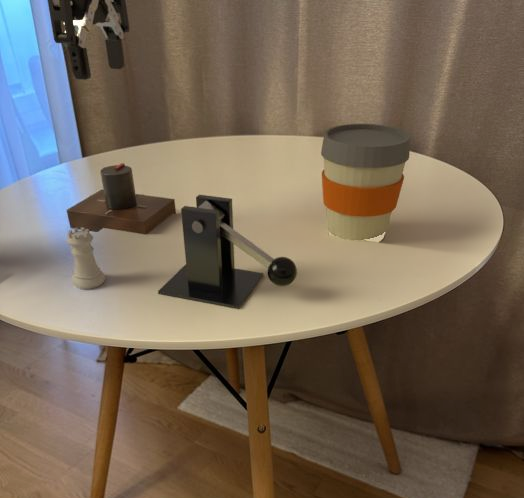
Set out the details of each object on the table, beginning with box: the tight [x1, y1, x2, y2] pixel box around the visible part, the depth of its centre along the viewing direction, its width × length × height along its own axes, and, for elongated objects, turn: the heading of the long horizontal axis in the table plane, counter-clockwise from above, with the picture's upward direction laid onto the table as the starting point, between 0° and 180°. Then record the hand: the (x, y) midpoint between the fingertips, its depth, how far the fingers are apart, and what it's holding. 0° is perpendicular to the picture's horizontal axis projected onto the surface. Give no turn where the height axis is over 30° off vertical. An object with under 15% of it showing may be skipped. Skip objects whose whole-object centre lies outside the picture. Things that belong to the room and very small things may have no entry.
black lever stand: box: [157, 194, 265, 310], centre depth 68 cm, size 11×9×12 cm
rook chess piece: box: [65, 227, 106, 290], centre depth 70 cm, size 4×4×8 cm
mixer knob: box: [99, 162, 137, 209], centre depth 87 cm, size 5×5×6 cm
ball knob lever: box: [198, 201, 298, 288], centre depth 66 cm, size 14×4×4 cm
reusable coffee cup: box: [320, 123, 411, 241], centre depth 82 cm, size 13×13×15 cm
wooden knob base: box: [66, 188, 177, 235], centre depth 89 cm, size 14×10×3 cm
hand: (100, 73), depth 77 cm, fingers open, 8 cm apart
